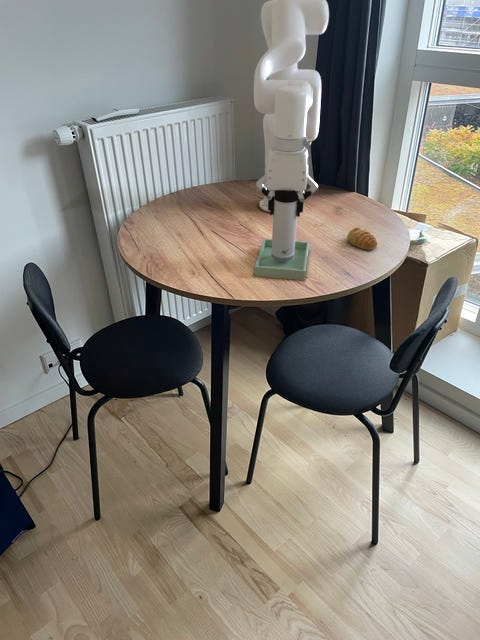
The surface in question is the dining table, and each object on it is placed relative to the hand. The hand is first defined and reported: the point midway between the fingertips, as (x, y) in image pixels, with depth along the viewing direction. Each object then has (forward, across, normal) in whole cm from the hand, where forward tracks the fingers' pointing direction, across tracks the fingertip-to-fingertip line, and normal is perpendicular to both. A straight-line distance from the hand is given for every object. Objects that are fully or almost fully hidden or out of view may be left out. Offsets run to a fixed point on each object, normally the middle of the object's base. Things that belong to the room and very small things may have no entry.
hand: (285, 213), depth 127 cm
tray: (+15, 0, 0) cm, 15 cm away
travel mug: (+13, 0, 0) cm, 13 cm away
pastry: (+15, -22, -16) cm, 31 cm away
